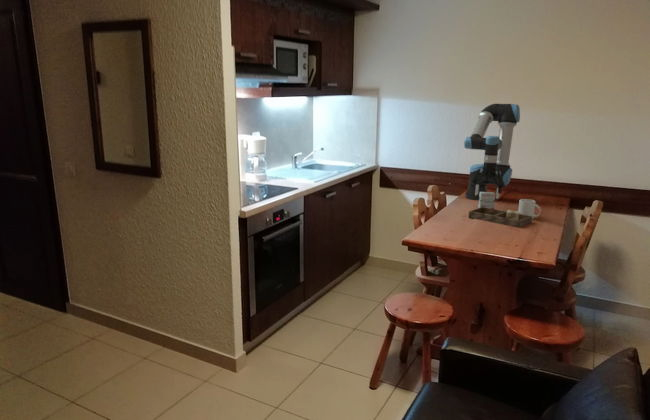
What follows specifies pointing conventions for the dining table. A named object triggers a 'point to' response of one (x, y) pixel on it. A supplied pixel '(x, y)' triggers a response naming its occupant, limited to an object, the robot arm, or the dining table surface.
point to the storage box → (498, 217)
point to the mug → (528, 207)
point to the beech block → (512, 215)
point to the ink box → (486, 199)
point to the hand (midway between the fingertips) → (486, 196)
